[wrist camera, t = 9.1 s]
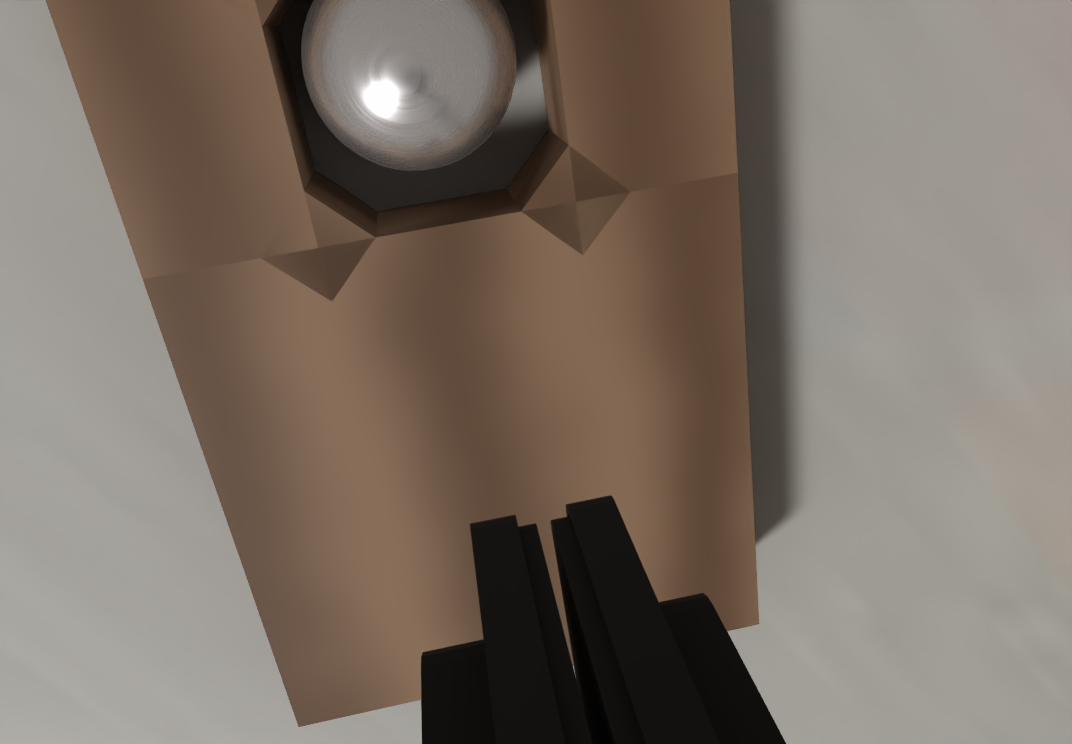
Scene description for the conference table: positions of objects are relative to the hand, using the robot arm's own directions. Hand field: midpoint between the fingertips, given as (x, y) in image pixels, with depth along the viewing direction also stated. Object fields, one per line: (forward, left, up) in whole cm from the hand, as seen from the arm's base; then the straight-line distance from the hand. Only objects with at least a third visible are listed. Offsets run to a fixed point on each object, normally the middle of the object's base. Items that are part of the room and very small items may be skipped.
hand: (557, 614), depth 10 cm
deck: (0, +1, -16) cm, 16 cm away
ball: (0, -6, -14) cm, 15 cm away
